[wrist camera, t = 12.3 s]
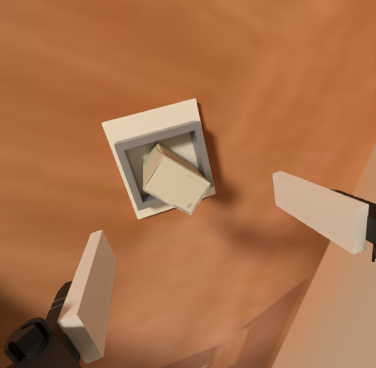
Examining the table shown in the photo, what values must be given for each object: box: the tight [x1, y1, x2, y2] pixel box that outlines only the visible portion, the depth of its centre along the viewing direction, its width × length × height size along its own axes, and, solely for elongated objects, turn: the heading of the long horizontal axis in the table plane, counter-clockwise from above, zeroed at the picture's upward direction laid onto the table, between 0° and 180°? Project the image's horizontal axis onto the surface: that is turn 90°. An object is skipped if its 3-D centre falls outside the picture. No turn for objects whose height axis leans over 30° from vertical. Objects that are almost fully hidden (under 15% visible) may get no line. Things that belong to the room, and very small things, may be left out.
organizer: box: [102, 98, 216, 219], centre depth 32 cm, size 14×16×5 cm
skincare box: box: [143, 142, 210, 215], centre depth 28 cm, size 6×4×12 cm
